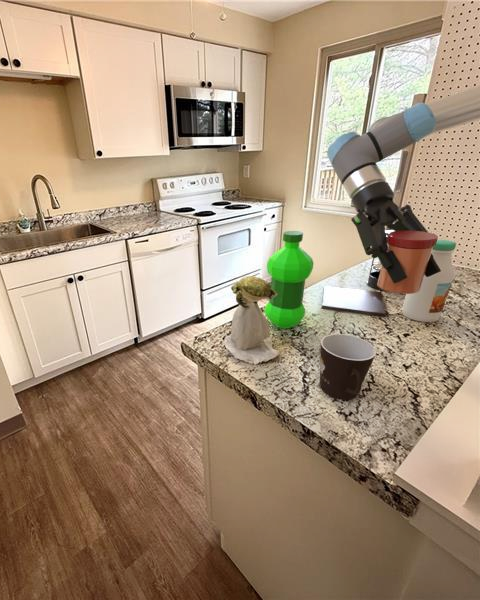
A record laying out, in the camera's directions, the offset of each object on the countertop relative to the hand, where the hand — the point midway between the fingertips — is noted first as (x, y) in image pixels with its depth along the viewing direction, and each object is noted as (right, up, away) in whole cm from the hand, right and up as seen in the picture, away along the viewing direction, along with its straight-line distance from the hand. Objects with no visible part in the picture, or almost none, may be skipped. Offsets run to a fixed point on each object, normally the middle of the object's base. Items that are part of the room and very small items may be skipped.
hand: (417, 277), depth 65 cm
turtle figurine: (-32, -17, +10) cm, 37 cm away
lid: (-2, +9, 0) cm, 9 cm away
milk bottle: (+15, -9, +16) cm, 24 cm away
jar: (0, -2, +5) cm, 5 cm away
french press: (+19, -1, +34) cm, 39 cm away
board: (+4, -5, +27) cm, 27 cm away
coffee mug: (-21, -23, -5) cm, 31 cm away
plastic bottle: (-20, -11, +19) cm, 30 cm away
